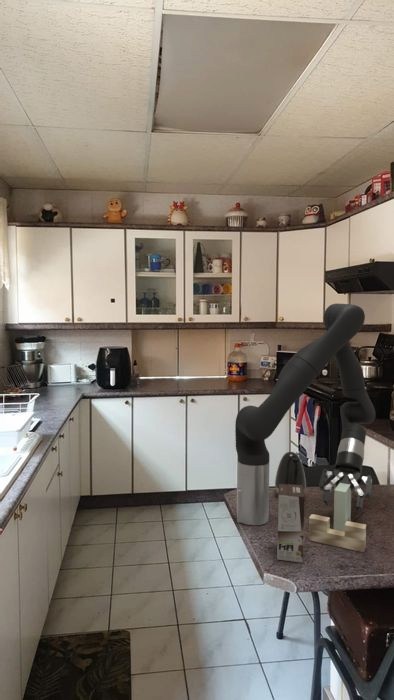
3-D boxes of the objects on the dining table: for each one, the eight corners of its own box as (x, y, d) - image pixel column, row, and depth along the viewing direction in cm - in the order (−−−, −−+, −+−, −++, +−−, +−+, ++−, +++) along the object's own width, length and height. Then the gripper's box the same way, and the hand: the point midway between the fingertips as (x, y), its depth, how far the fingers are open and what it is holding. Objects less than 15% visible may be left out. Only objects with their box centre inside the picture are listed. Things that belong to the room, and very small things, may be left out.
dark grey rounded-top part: (283, 503, 149) (284, 457, 149) (269, 492, 159) (270, 449, 159) (311, 500, 152) (312, 455, 152) (296, 490, 162) (297, 447, 162)
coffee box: (303, 563, 111) (305, 496, 110) (276, 560, 112) (277, 494, 112) (302, 546, 120) (304, 484, 119) (277, 543, 121) (278, 482, 121)
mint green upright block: (344, 535, 127) (345, 492, 126) (333, 533, 128) (334, 490, 128) (350, 523, 135) (351, 482, 134) (339, 521, 136) (340, 480, 135)
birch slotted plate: (308, 540, 123) (309, 517, 123) (311, 535, 126) (311, 513, 126) (363, 552, 117) (364, 528, 117) (365, 547, 120) (366, 524, 119)
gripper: (324, 447, 140) (314, 496, 131) (374, 453, 134) (367, 505, 124) (327, 460, 145) (318, 508, 136) (376, 466, 139) (369, 518, 129)
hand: (341, 507), depth 130 cm, fingers open, 8 cm apart
